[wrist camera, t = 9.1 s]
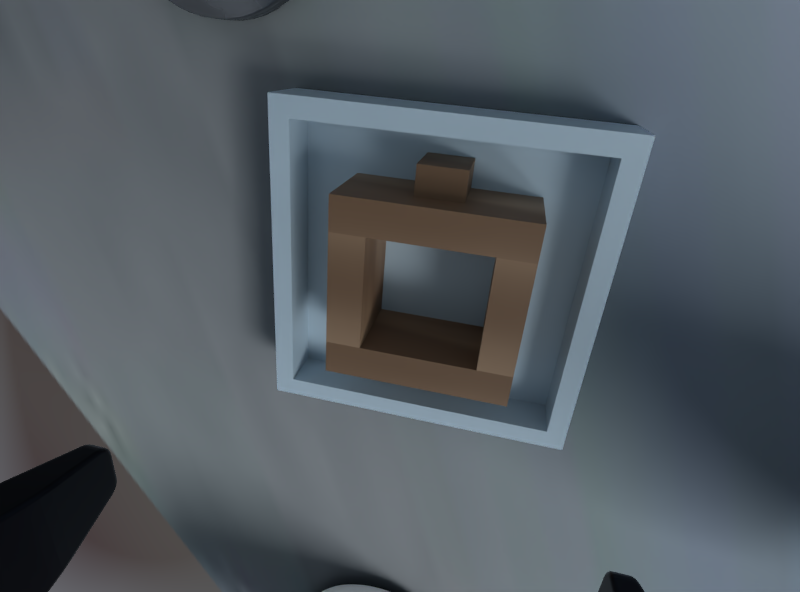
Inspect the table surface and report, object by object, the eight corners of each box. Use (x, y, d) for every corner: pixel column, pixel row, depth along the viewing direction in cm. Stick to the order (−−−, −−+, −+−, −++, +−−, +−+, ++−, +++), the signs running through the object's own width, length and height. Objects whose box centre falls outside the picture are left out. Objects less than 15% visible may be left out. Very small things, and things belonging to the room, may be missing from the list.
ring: (509, 359, 20) (507, 406, 17) (351, 329, 21) (325, 370, 18) (549, 167, 16) (554, 189, 14) (358, 143, 17) (329, 160, 15)
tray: (639, 125, 16) (655, 135, 14) (558, 413, 21) (562, 449, 19) (295, 87, 18) (267, 92, 16) (298, 361, 23) (277, 389, 21)
